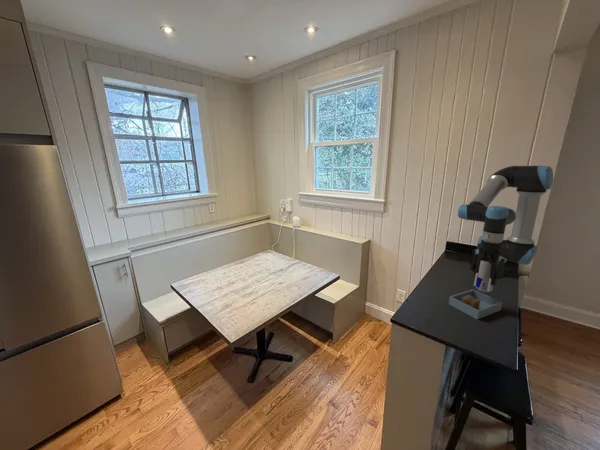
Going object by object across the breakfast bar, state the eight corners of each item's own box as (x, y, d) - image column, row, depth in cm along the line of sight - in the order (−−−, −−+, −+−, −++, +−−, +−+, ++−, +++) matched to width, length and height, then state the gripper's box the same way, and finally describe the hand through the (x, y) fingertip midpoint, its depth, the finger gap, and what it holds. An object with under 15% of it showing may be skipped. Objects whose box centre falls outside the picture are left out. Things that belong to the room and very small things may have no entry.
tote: (471, 296, 124) (472, 289, 123) (500, 310, 112) (502, 302, 111) (448, 304, 117) (449, 296, 116) (477, 319, 106) (478, 311, 105)
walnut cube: (460, 306, 114) (462, 297, 113) (467, 304, 116) (469, 294, 115) (471, 312, 110) (473, 302, 108) (478, 309, 112) (480, 300, 110)
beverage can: (485, 288, 116) (491, 259, 113) (491, 293, 111) (497, 263, 108) (473, 287, 117) (478, 258, 114) (478, 292, 112) (484, 262, 109)
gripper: (465, 236, 115) (458, 281, 121) (510, 248, 99) (499, 299, 105) (476, 234, 118) (468, 278, 124) (520, 245, 102) (509, 295, 107)
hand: (482, 287), depth 114 cm, fingers closed on beverage can, 5 cm apart
